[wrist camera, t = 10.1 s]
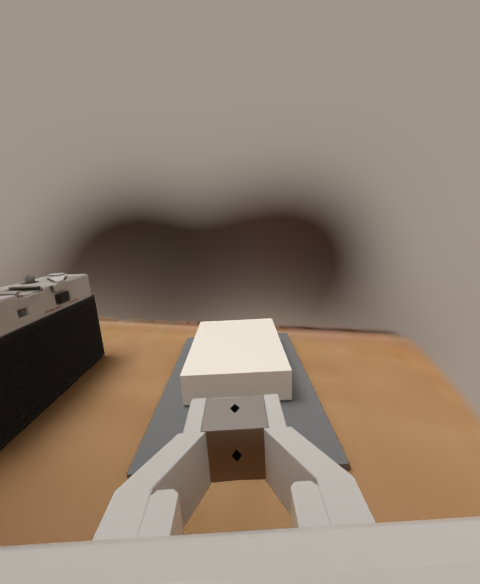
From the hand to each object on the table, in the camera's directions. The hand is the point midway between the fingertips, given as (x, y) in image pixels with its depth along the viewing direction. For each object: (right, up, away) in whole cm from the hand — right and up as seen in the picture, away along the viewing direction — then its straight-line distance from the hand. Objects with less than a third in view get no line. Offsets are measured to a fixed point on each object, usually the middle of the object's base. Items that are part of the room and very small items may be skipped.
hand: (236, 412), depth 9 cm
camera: (-19, -5, +14) cm, 24 cm away
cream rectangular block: (0, -3, +10) cm, 10 cm away
